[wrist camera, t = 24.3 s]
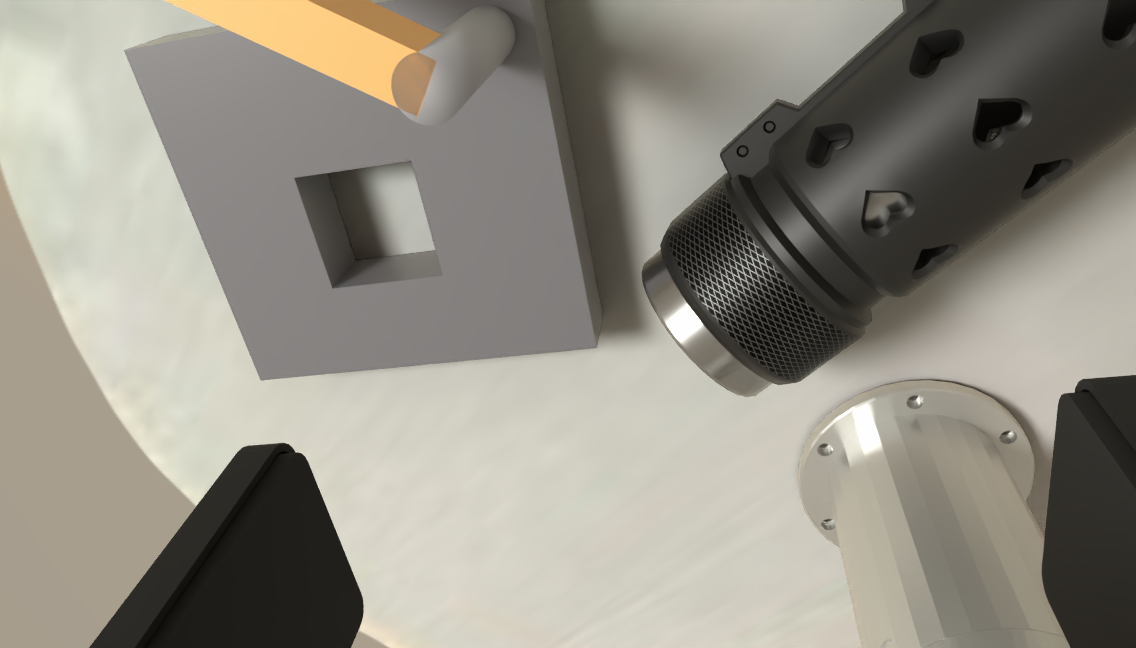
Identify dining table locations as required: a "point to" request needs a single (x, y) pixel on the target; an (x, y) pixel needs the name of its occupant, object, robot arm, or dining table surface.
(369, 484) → the dining table surface
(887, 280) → the muzzle brake
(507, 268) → the socket block
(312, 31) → the try square
